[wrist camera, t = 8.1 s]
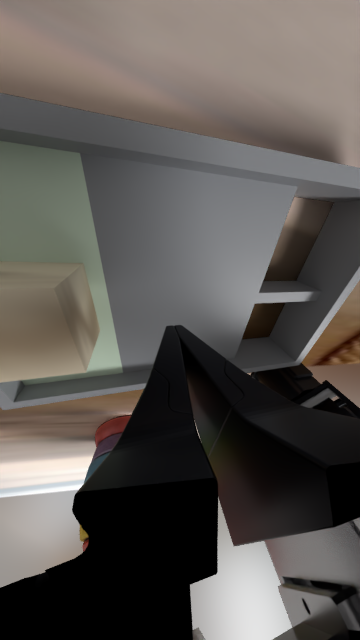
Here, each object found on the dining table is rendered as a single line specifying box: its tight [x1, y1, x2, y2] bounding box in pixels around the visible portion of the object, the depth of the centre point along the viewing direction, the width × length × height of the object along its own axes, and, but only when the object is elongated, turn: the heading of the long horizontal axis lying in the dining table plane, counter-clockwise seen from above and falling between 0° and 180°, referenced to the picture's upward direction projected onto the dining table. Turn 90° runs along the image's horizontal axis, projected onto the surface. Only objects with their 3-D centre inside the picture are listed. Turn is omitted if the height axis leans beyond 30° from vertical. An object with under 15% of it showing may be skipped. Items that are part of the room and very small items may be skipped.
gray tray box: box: [0, 93, 360, 410], centre depth 13 cm, size 17×29×4 cm, turn 86°
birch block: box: [0, 261, 100, 383], centre depth 8 cm, size 5×5×4 cm
